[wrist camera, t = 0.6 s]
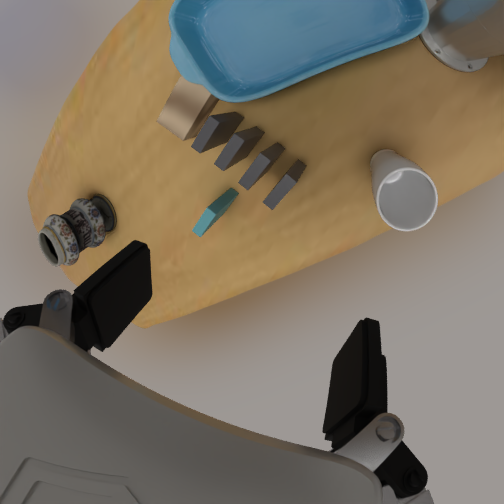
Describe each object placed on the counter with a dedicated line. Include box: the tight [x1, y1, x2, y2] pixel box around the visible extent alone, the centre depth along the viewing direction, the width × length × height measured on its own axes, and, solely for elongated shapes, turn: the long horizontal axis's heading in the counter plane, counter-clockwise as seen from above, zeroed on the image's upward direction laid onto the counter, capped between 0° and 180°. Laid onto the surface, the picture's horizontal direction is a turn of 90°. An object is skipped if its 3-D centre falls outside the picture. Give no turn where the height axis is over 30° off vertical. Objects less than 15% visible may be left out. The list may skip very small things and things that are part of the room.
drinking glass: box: [370, 149, 438, 231], centre depth 28 cm, size 7×7×15 cm
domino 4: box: [263, 159, 306, 210], centre depth 36 cm, size 2×5×9 cm, turn 144°
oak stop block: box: [157, 75, 219, 141], centre depth 37 cm, size 10×6×4 cm, turn 144°
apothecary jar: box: [38, 194, 116, 267], centre depth 51 cm, size 12×12×18 cm
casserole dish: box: [169, 0, 429, 103], centre depth 23 cm, size 37×22×7 cm, turn 119°
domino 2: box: [214, 126, 265, 171], centre depth 36 cm, size 2×5×9 cm, turn 145°
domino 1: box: [191, 112, 244, 153], centre depth 35 cm, size 2×5×9 cm, turn 145°
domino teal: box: [192, 188, 239, 237], centre depth 42 cm, size 2×5×9 cm, turn 144°
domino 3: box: [238, 142, 285, 190], centre depth 36 cm, size 2×5×9 cm, turn 145°
